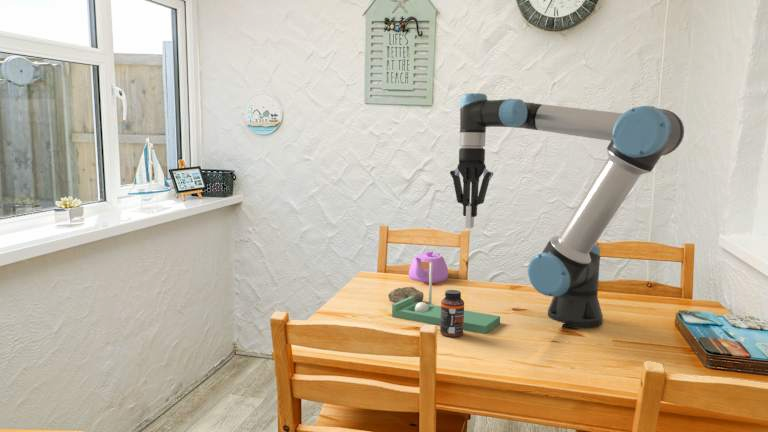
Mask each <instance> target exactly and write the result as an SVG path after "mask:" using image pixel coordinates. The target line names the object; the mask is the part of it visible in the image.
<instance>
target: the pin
mask: <svg viewBox="0 0 768 432" xmlns="http://www.w3.org/2000/svg"><path fill="white" fill-rule="evenodd" d="M421 269H426V270H430V272H429V283H428V286H429V287H428V304H430V305H432V299H433V298H432V297H433V295H432V294H433V283H432V262H423V261H421Z"/></svg>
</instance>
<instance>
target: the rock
mask: <svg viewBox="0 0 768 432" xmlns="http://www.w3.org/2000/svg"><path fill="white" fill-rule="evenodd" d="M410 296H411V297H414V302H418V303H419V302H424V301H423V300H424V297H425V296H424V292H423V291H420V290H419V289H417V288H415V287H413V286H405V287H404V286H403V287H401V288H400V287H398V288H395V289H393V290H391V291H390V292H389V293H388V299H389V302H391V303H393V304H395V303H397V302H399V301H401V300H404V299H406V298H408V297H410Z"/></svg>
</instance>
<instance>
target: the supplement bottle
mask: <svg viewBox="0 0 768 432" xmlns="http://www.w3.org/2000/svg"><path fill="white" fill-rule="evenodd" d="M444 296H445V297H443V298H442V300H441V301H440V303H441V304H440V306H441V323H440V325H439V326H440V327H439V328H440V329H439V331H440V332H439V333H440V334H441V335H442V336H445V337H449V338H457V337H461V336H462V335H463V333H464V330H463V321H464V310H465V301H464V300H463V299H462V292H461V291H460V290H457V289H448V290H447V289H446V290H445V292H444Z"/></svg>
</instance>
